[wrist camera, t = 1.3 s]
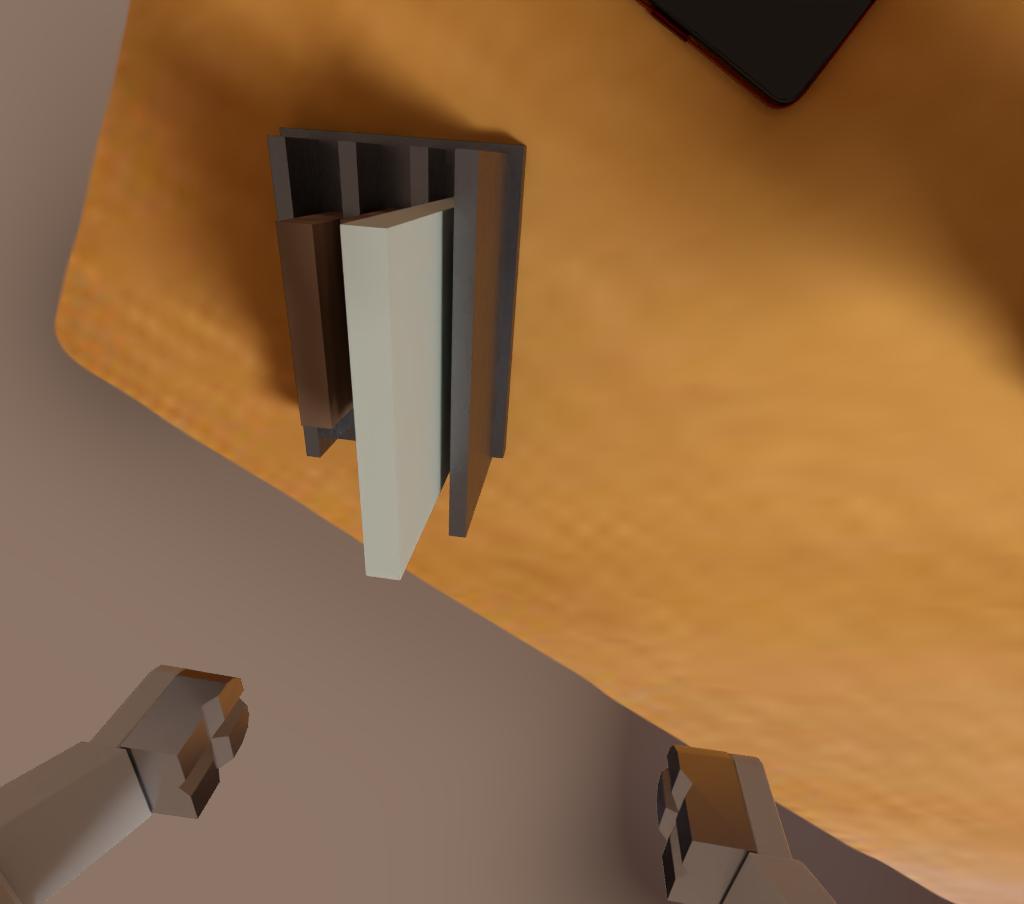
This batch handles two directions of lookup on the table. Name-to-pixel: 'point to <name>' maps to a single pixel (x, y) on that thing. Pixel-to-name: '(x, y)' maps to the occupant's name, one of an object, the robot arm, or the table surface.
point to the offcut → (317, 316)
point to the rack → (476, 264)
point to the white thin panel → (400, 371)
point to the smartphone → (764, 39)
